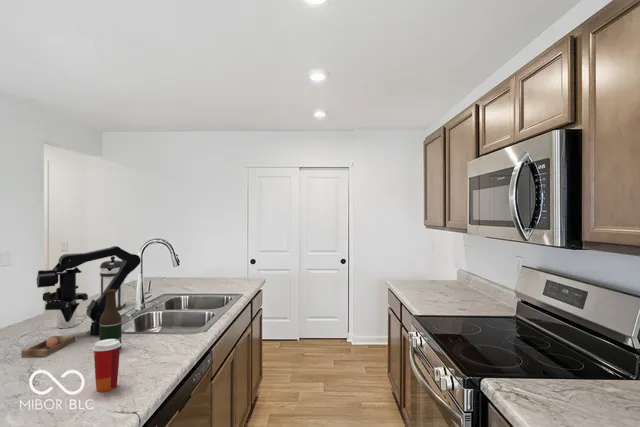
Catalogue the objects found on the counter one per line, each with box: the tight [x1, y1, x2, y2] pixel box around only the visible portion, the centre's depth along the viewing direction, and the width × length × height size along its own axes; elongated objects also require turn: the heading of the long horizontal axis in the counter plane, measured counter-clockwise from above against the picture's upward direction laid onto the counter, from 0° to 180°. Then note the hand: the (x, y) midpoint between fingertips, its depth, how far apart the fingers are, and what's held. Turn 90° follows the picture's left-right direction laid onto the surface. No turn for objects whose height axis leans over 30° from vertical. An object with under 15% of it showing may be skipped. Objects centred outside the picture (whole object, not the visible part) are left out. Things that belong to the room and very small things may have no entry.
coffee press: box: [99, 255, 126, 312], centre depth 213 cm, size 17×16×30 cm
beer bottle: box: [98, 289, 123, 350], centre depth 147 cm, size 8×8×24 cm
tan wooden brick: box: [49, 335, 70, 344], centre depth 151 cm, size 6×2×3 cm, turn 91°
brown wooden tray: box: [20, 336, 76, 358], centre depth 146 cm, size 9×18×4 cm, turn 1°
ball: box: [45, 336, 58, 348], centre depth 147 cm, size 4×4×4 cm
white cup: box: [56, 309, 77, 329], centre depth 178 cm, size 8×8×10 cm
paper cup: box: [91, 339, 122, 393], centre depth 115 cm, size 8×8×14 cm
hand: (67, 321), depth 156 cm, fingers closed
